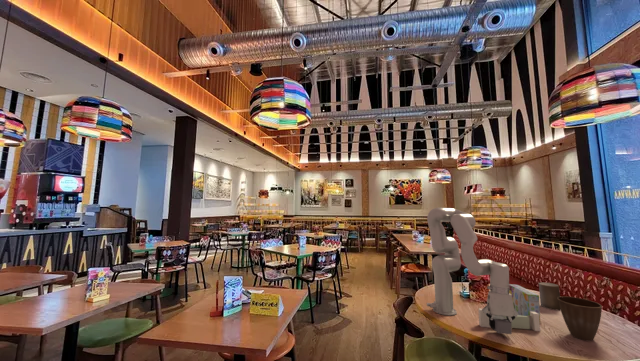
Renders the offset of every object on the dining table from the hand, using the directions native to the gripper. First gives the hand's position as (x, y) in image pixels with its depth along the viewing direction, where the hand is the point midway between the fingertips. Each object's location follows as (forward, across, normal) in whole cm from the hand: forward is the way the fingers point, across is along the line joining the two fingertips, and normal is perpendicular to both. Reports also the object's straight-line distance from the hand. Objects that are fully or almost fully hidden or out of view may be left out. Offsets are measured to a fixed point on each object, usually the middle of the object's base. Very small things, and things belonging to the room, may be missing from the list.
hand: (500, 328), depth 123 cm
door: (+3, +10, +9) cm, 13 cm away
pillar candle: (+4, +51, +46) cm, 68 cm away
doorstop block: (+1, 0, 0) cm, 1 cm away
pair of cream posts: (+3, +8, +9) cm, 12 cm away
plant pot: (+2, +37, +4) cm, 37 cm away
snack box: (+4, +25, +26) cm, 36 cm away
